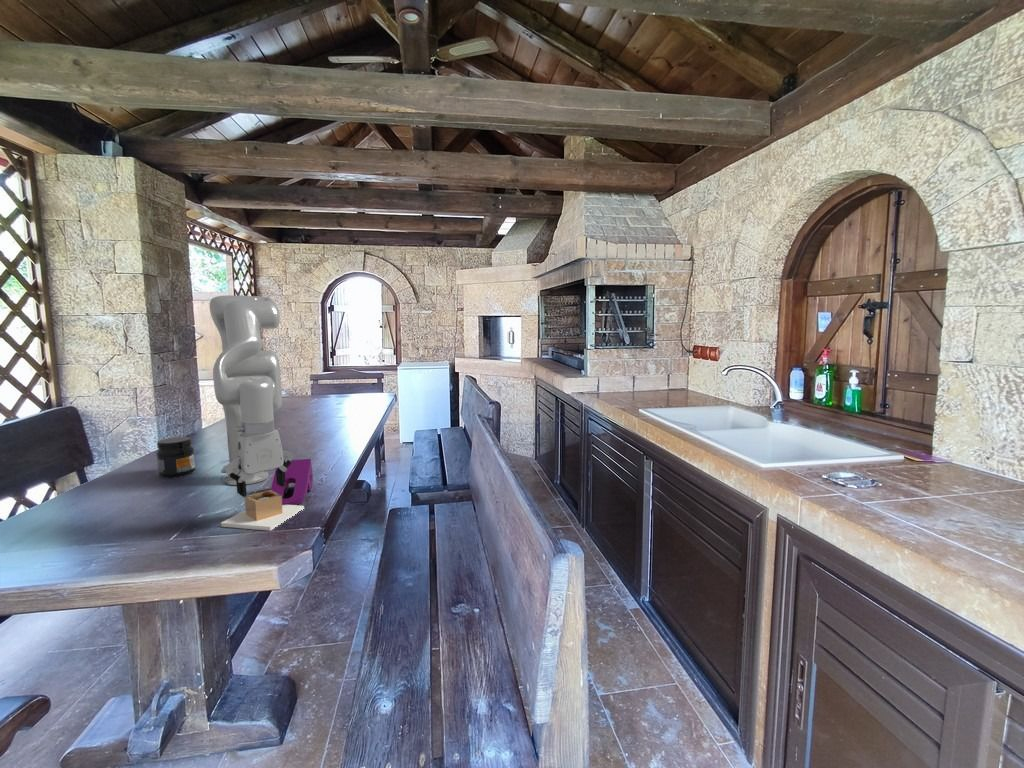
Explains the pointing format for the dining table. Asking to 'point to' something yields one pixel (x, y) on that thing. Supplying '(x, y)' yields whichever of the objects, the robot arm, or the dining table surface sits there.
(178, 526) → the dining table surface
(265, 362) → the robot arm
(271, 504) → the open wooden box
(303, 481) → the mounting bracket
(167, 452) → the supplement container
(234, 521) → the flange
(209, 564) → the dining table surface
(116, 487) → the dining table surface
